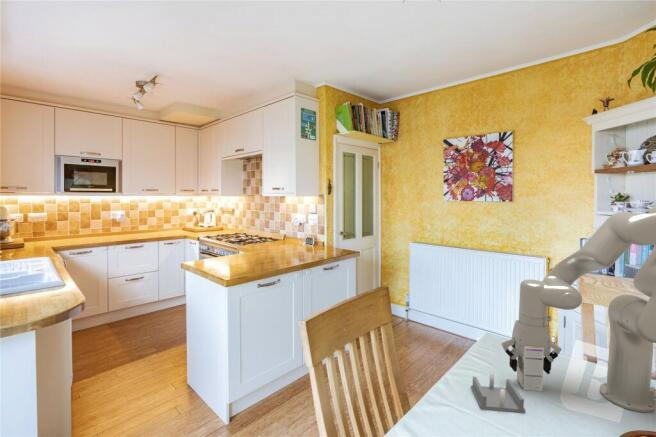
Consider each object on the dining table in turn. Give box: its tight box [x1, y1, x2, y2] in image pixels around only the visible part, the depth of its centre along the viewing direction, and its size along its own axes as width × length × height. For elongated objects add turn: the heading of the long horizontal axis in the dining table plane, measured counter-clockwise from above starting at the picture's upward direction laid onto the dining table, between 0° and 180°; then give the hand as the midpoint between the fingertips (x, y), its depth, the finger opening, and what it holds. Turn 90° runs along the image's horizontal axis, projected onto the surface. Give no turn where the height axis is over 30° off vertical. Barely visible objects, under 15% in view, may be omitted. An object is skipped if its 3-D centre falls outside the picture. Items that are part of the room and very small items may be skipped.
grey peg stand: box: [470, 371, 526, 414], centre depth 98 cm, size 12×10×6 cm
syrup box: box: [516, 346, 545, 393], centre depth 104 cm, size 6×6×14 cm
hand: (529, 370), depth 104 cm, fingers open, 9 cm apart
